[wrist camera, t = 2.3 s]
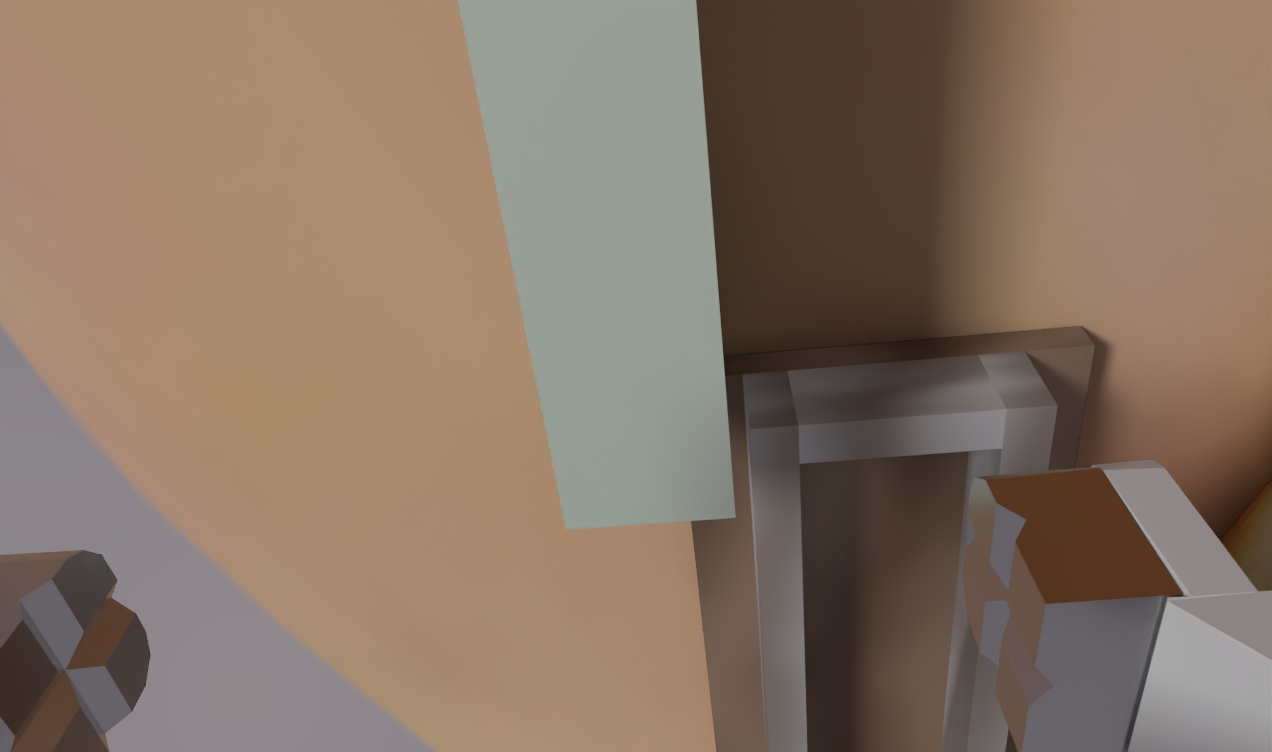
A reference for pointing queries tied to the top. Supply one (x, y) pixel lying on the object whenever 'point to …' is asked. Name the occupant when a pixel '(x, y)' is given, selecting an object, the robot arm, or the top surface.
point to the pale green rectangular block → (611, 247)
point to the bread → (1254, 540)
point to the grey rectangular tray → (871, 536)
